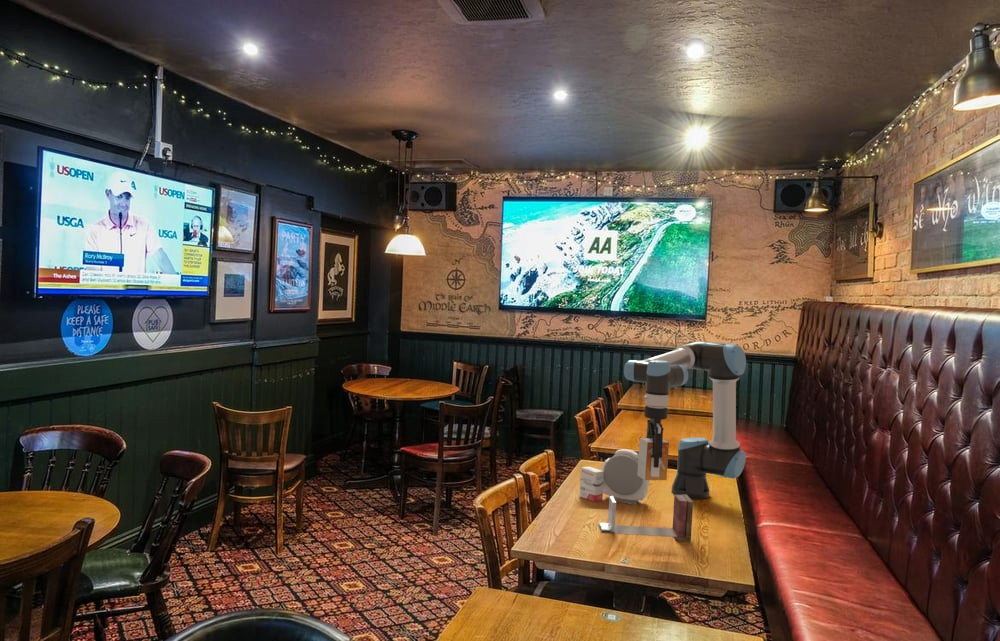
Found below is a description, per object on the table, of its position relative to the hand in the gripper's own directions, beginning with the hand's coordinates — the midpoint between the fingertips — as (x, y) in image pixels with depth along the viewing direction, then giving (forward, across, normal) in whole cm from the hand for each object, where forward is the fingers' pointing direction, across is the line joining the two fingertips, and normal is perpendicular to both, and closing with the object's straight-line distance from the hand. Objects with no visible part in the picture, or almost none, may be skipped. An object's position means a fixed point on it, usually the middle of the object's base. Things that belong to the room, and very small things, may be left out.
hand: (652, 473), depth 220 cm
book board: (+21, 0, -2) cm, 21 cm away
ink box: (+22, -37, -15) cm, 45 cm away
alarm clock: (+21, -36, -2) cm, 42 cm away
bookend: (+20, 0, -14) cm, 24 cm away
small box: (+2, 0, 0) cm, 2 cm away
